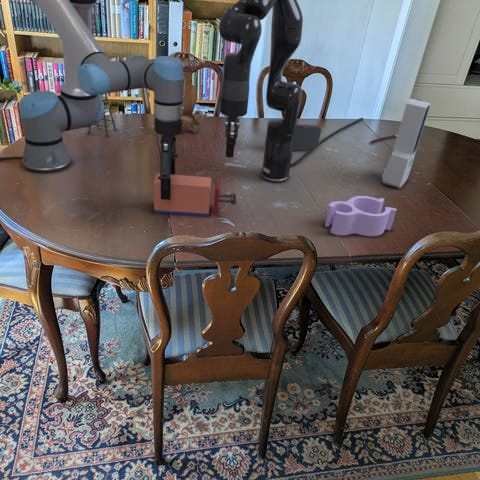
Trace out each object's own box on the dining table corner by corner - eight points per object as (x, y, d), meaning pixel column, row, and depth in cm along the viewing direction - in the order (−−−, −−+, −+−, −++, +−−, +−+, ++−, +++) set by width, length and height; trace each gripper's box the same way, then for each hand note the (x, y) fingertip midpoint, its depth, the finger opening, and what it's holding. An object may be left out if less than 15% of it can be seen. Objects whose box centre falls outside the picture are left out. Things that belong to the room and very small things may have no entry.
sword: (407, 132, 223) (408, 129, 223) (413, 134, 221) (413, 131, 221) (364, 143, 208) (365, 141, 207) (370, 146, 206) (370, 143, 205)
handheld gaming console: (315, 147, 196) (319, 124, 190) (317, 149, 194) (322, 126, 188) (264, 149, 189) (267, 125, 183) (266, 152, 187) (269, 127, 181)
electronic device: (399, 190, 168) (424, 107, 152) (379, 183, 171) (402, 102, 155) (408, 178, 177) (433, 100, 161) (389, 173, 180) (411, 95, 164)
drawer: (234, 206, 145) (236, 182, 140) (234, 214, 141) (237, 190, 136) (168, 201, 143) (168, 178, 139) (166, 209, 139) (167, 185, 135)
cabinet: (209, 206, 145) (211, 177, 140) (208, 216, 140) (210, 186, 135) (156, 202, 144) (156, 173, 139) (153, 212, 139) (153, 182, 133)
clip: (337, 240, 135) (342, 219, 131) (318, 218, 145) (322, 198, 141) (395, 233, 141) (402, 213, 137) (373, 213, 151) (378, 194, 147)
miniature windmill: (107, 136, 184) (102, 57, 168) (87, 133, 185) (80, 54, 169) (116, 129, 192) (112, 52, 176) (97, 126, 193) (91, 49, 177)
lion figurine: (200, 128, 202) (201, 108, 197) (204, 133, 198) (205, 112, 193) (167, 129, 197) (167, 108, 192) (170, 134, 193) (170, 113, 188)
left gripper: (178, 134, 116) (177, 209, 128) (185, 105, 137) (184, 171, 149) (147, 132, 116) (149, 207, 127) (159, 103, 137) (160, 170, 148)
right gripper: (249, 104, 118) (243, 166, 128) (247, 89, 130) (241, 148, 139) (220, 101, 118) (215, 164, 127) (220, 87, 129) (216, 146, 138)
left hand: (168, 188), depth 138 cm, fingers open, 13 cm apart
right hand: (229, 156), depth 133 cm, fingers closed
